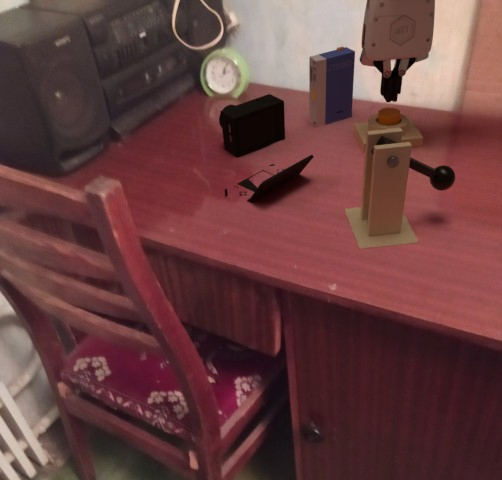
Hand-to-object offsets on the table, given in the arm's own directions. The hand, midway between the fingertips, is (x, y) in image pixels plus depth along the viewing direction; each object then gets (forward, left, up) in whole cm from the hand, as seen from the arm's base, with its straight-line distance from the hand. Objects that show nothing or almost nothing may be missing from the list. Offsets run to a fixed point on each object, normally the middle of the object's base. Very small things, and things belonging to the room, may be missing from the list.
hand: (389, 98), depth 96 cm
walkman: (+8, -10, -7) cm, 15 cm away
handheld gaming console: (+22, +13, -7) cm, 26 cm away
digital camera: (+23, -4, -7) cm, 24 cm away
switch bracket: (+8, +27, -7) cm, 29 cm away
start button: (0, 0, -4) cm, 4 cm away
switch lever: (+5, +27, +1) cm, 28 cm away
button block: (0, 0, -7) cm, 7 cm away
